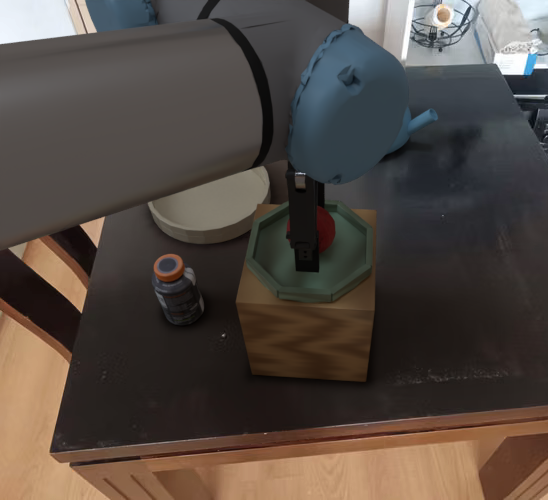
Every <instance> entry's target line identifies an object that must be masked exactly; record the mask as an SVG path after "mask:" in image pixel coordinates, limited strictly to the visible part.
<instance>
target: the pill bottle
mask: <svg viewBox="0 0 548 500" xmlns="http://www.w3.org/2000/svg"><path fill="white" fill-rule="evenodd" d="M151 285H152V287H153V290H154V293H155V295H156V296H157V299H158V302H159V304H160V306H161V308H162V311H163V313H164V316H165V317H166V319H167V321H169V322H170V323H171V324H172V325H176V326H187V325H191V324H193V323H194V322H196V321H197V320H198V319H200V318H201V317H202V316H203V313H204V310H205V303H204V299H203V297H202V293H201V290H200V287H199V284H198V280H197V277H196V275H195V272H194V269H193V267H192V266H191V265H190V264H189V263H188V262H186V261H184V260H183V258H182V257H181V256H180V255H178V254H175V253H167V254H164V255H162V256H160V257H158V258H157V259H156V260H155V262H154V263H153V273H152V275H151Z"/></svg>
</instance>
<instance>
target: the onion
mask: <svg viewBox="0 0 548 500" xmlns="http://www.w3.org/2000/svg"><path fill="white" fill-rule="evenodd" d="M317 230H319V254H320V253H322V252H324V251H325V250H326V249H327V248H328V247H329V246H330V245H332V242H333V240H334V238H335V234H336V231H335V221H334V219H333V217H332V216H331V215H330V214H329V212H328V211H327V210H325V209H324V208H322V207H320V206H317ZM287 231H290V220H288V222H287ZM287 231H286V234H287ZM288 241H289V243H290V239H288Z"/></svg>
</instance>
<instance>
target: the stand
mask: <svg viewBox="0 0 548 500" xmlns="http://www.w3.org/2000/svg"><path fill="white" fill-rule="evenodd" d="M325 210H327V211H328V212H329V214H330V215H331V216H332V217H333V219H334V221H335V231H336V234H335V238H334V240H333V242H332V245H330V246H329V247H328V248H327V249H326V250H325V251H324V252H322V253H320V254H319V267H320V268H319V273H316V272H299V271H296V267H295V254H294V249H291V248H290V243H289V241H288V239H286V231H287V222H288V220H289V199H288V200H287V201H285V202H283V203H282V204H272V203H270V204H257V207H256V212H255V216H254V221H253V226H252V229H250V235H249V239H248V244H247V248H246V253H245V258H244V262H243V267H242V272H241V274H240V275H241V277H240V281H239V285H238V290H237V293H236V299H235V306H236V310H237V314H238V318H239V323H240V327H241V331H242V336H243V341H244V344H245V345H244V346H245V349H246V353H247V357H248V358H247V359H248V363H249V367H250V372H251V375H254V376H267V377H268V376H269V377H270V376H271V377H283V378H297V379H298V378H300V379H313V380H330V381H343V382H344V381H345V382H359V383H366V382H367V377H368V369H369V361H370V351H371V344H372V337H373V330H374V329H373V328H374V319H375V312H376V274H377V273H376V272H377V270H376V269H377V267H376V265H377V219H378V218H377V216H378V211H377V209H366V208H365V209H364V208H363V209H362V208H350V207H349V206H347V205H346V204H345V203H344V202H343V201H341V200H337V199H325Z"/></svg>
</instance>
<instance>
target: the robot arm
mask: <svg viewBox="0 0 548 500" xmlns="http://www.w3.org/2000/svg"><path fill="white" fill-rule="evenodd" d="M84 2H85V6H86V9H87V11H88V14H89V17H90V20H91V22H92V25H93V27H94V29H95V32H88V33H87V32H86V33H78V34H70V35H63V36H55V37H54V36H53V37H46V38H39V39H30V40H23V41H14V42H13V41H12V42H5V43H0V252H1V251H4V250H8V249H10V248H13V247H16V246H20V245H23V244H26V243H29V242H32V241H35V240H37V239H41V238H44V237H47V236H50V235H53V234H56V233H60V232H63V231H65V230H69V229H72V228H74V227H78V226H81V225H83V224H87V223H89V222H90V223H91V222H93V221H96V220H99V219H102V218H105V217H108V216H111V215H115V214H117V213H120V212H123V211H127V210H130V209H133V208H136V207H139V206H142V205H145V204H148V202H151V201H154V200H157V199H161V198H164V197H167V196H170V195H173V194H176V193H179V192H182V191H185V190H188V189H191V188H194V187H197V186H200V185H203V184H206V183H210V182H213V181H216V180H219V179H222V178H225V177H228V176H231V175H234V174H237V173H240V172H244V171H247V170H250V169H254V168H258V167H261V166H264V167H265V166H268V165H270V164H274V163H276V162H279V161H287V169H286V171H285V176H284V177H285V179H286V185H287V186H286V187H287V194H288V195H287V197H288V200H289V220H290V231H287V234H286V239H290V248H291V249H294V254H295V267H296V271H299V272H316V273H319V268H320V267H319V230H317V206H320V207H322V208H324V209H325V200H326V198H325V197H326V191H325V189H326V187H325V185H326V184H327V185H329V184H332V185H334V186H338V185H339V186H340V185H345V184H347V183H348V184H349V183H351V182H353V181H355V180H357V179H359V178H361V177H363V176H364V175H365V174H367V173H368V172H369V171H371V170H372V169H373V168H374V167H375V166H377V164H378V163H379V162H381V160H382V159H383V158H384V157H385V156H386V155H387V154H386V153H387V152H388V150H389V149H390V147H391V146H392V144H393V143H394V141H395V139H396V138H397V136H398V134H399V132H400V130H401V127H402V125H403V118H404V114H405V111H406V109H407V106H408V107H409V101H410V84H409V79H408V75H407V72H406V70H405V67H404V66H403V64H402V63H401V61H400V60H399V59H398V58H397V57H396V56H395V55H394V54H393V53H391V51H389V50H387V49H386V48H384V47H382V46H381V45H380V44H379V43H377V42H376V41H375V40H373V39H371V38H370V37H368V36H367V35H366V34H365V33H364V31H363V30H362V29H361V28H360V27H359V26H357V25H355V24H352V23H350V21H349V19H350V18H349V17H350V0H84ZM385 154H386V155H385Z"/></svg>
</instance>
